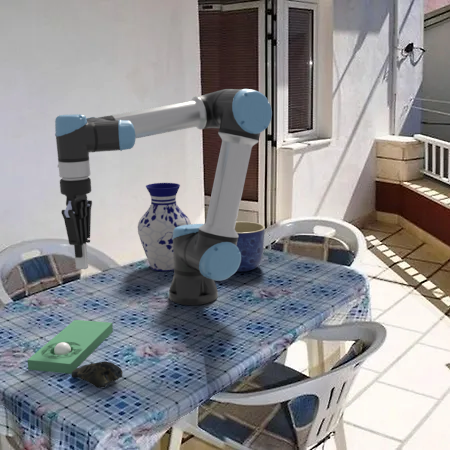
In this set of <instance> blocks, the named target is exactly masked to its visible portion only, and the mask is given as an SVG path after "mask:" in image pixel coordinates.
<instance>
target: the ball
mask: <svg viewBox="0 0 450 450" xmlns="http://www.w3.org/2000/svg"><path fill="white" fill-rule="evenodd" d="M54 353H55V355H65V354H68V353H71V347H70V346H69V344H67V343H65V342H61V343H58V344H57V345H56V346H55V348H54Z"/></svg>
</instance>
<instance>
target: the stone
mask: <svg viewBox="0 0 450 450" xmlns="http://www.w3.org/2000/svg"><path fill="white" fill-rule="evenodd" d="M70 375H71V377H72V378H76V379H79V380H81V381H86V382H88V383H89V384H91V385H92V386H94V387H96V388H98V389H105V388H106V387H107V385H109V384H110V383H112V382H116V381H119V380H120V379H121V378H123V370H122V368H121V367H120V366H118V365H117V364H115V363H114V362H110V361H99V362H95V363H93V362H91V363H88V364H85V365H82V366H80V367H79V366H78V367H77V369H75V370H73V372H72V374H70Z"/></svg>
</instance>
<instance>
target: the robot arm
mask: <svg viewBox="0 0 450 450" xmlns="http://www.w3.org/2000/svg"><path fill="white" fill-rule="evenodd" d="M272 116H273V111H272V105H271V103H270V101H269V99H268V97H266V95H264V93H262V92H260V91H258V90H255V89H251V88H250V89H249V88H243V89H242V88H239V89H238V88H237V89H236V88H234V89H233V88H225V89H221V90H217V91H214V92H210V93H206V94H203V95H197V96H193V97H192V99H191V100H190V101H184V102H183V101H182V102H179V103H171V104H166V105H162V106H155V107H150V108H144V109H139V110H132V111H126V112H122V113H121V112H120V113H116V114H112V115H105V116H99V117H98V116H97V117H95V116H92V117H90V116H89V117H86V115H84V114H78V113H77V114H61V115H60V114H59V115H57V117H55V119H54V123H55V125H54V127H55V128H54V129H55V131H54V132H55V133H54V136H55V141H56V150H57V151H56V152H57V162H58V164H57V168H58V173H59V175H58V176H59V178H61V179H60V180H59V188H60V194H61V195H64V196H65V197H66V198H65V199H66V201H65V205H66V208H65V209H62V210H61V213H60V214H61V216H62V217H63V220H64V225H65V230H66V235H67V239H68V244H69V245H70V246H73V247H74V259H75V260H74V261H75V269H76V270H87V269H88V268H89V262H88V248H87V246H88V245H87V243H88V244H89V243H91V239H90V238H91V220H92V206H93V201H92V200H89V199H88V196H87V195H89V194H90V193H91V192H92V183H91V182H92V181H91V178H90V176H91V167H90V166H91V163H90V157H89V156H90V153H98V152H99V153H100V152H112V151H113V152H114V151H115V152H116V151H120V152H122V151H126V150H131V149H133V148H134V146H135V145H136V139H140V138H144V137H150V136H156V135H161V134H167V133H171V132H176V131H181V130H182V131H183V130H187V129H192V128H197V129H198V130H204V129H218V131H217V132H218V133H217V134H218V136H219V137H220V139H221V146H220V151H219V153H218V155H219V156H218V160H217V165H216V169H215V173H214V180H213V184H212V189H211V196H210V200H209V204H208V208H207V213H206V217H205V218H206V219H205V222H204V223H192V224H189V225H182V226H178V227H176V228H175V229H174V230H173V238H172V240H173V255H174V271H173V276H172V280H171V283H170V287H169V290H168V293H169V294H168V295H169V297H168V298H169V300H170V301H171V302H173V303H175V304H179V305H185V306H199V305H207V304H209V303H212V302H214V301H215V300H217V299H218V287H217V283H216V282H215V281H218V282H219V281H225V280H228V279H229V278H230V277H231V276H233V275H234V274H235V273H236V272H238V271H237V270H238V268H239V266H240V263H241V253H240V251H239V249H238V247H237V241H238V234H237V232H236V231H235V225H236V222H237V221H238V220H237V219H238V215H239V211H240V205H241V200H242V197H243V192H244V186H245V181H246V178H247V172H248V168H249V162H250V158H251V154H252V149H253V146H255V145H256V144H258V143H259V142H260V138H261V137H260V136H261V133H263V132H264V131H265V130H266V129H267V128H268V127H269V126H270V124H271V121H272Z"/></svg>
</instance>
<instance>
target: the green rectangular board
mask: <svg viewBox="0 0 450 450" xmlns="http://www.w3.org/2000/svg"><path fill="white" fill-rule="evenodd" d="M113 327H114V326H113V322H106V321H93V320H81V319H79V320H78V319H74V320H73V321H71V322H70V323H69V324H68V325H67V326H66V327H64V328H63V330H61V331H59V333H58V334H56V335H55V336H54V337H53V338H51V339H50V340H49V341H48V342H47V343H45V344H44V345H43V346H42V347H41V348H39V350H37V351H36V352H35V353H33V354H32V355H31V356H30V357H29V358H28V359H27V370H29V371H38V372H49V373H58V374H66V375H67V374H70V375H71V374H72V372H73V370H75V369H77V368H79V366H81V364H82V363H84V361H86V359H87V358H88V357H89V356H90V355H91V354H92V353H93V352H94V351H95V350H96V349H97V348H99V346H100V345H101V344H102V343H103V342H104V341H105V340H106V339H107V338H108V337H109V336H110V335H111V334H112V333H113V331H114V330H113V329H114V328H113ZM61 342H65V343H67V344H69V346H70V347H71V353H68V354H65V355H55V353H54V348H55V346H56V345H57V344H58V343H61Z"/></svg>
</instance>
